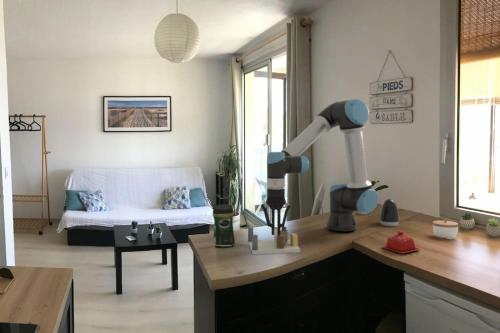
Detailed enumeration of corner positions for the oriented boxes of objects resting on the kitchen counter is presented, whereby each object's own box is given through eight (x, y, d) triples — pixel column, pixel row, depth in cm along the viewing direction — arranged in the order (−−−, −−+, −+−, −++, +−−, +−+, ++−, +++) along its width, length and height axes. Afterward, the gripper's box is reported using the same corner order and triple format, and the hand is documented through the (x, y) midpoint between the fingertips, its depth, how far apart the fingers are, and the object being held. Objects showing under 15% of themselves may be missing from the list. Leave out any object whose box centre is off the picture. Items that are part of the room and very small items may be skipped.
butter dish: (401, 256, 154) (401, 235, 154) (380, 249, 165) (380, 229, 164) (421, 252, 159) (421, 231, 159) (399, 245, 170) (399, 226, 169)
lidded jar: (457, 237, 182) (457, 217, 182) (458, 242, 172) (459, 222, 172) (432, 235, 187) (432, 216, 186) (432, 240, 177) (432, 220, 176)
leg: (281, 239, 175) (281, 226, 175) (287, 239, 175) (287, 226, 174) (276, 247, 162) (276, 233, 161) (283, 248, 161) (283, 233, 161)
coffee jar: (233, 242, 178) (232, 202, 177) (236, 247, 170) (235, 205, 169) (212, 244, 176) (211, 203, 175) (214, 248, 168) (213, 206, 167)
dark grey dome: (401, 226, 209) (401, 198, 208) (397, 229, 200) (397, 200, 199) (382, 224, 214) (382, 197, 214) (377, 227, 206) (377, 199, 205)
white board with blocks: (290, 241, 178) (290, 225, 178) (300, 252, 161) (300, 234, 160) (247, 243, 176) (247, 227, 176) (252, 254, 158) (252, 236, 158)
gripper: (259, 188, 161) (259, 244, 162) (290, 189, 159) (290, 245, 160) (261, 186, 168) (262, 240, 170) (291, 187, 166) (291, 241, 168)
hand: (276, 242), depth 165 cm, fingers closed
